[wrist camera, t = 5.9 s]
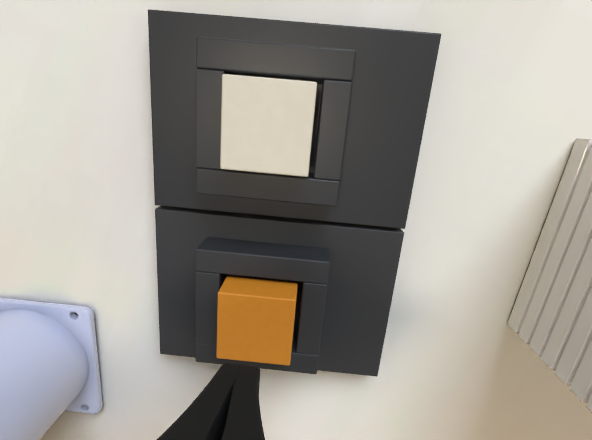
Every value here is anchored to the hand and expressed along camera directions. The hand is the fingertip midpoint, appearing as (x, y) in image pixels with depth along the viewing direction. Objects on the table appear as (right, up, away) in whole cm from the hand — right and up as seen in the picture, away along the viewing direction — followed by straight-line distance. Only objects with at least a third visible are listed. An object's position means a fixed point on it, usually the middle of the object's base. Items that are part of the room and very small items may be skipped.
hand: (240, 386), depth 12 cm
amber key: (0, +1, +5) cm, 5 cm away
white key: (+1, +10, +2) cm, 11 cm away
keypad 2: (+2, +11, +5) cm, 12 cm away
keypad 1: (+1, +2, +7) cm, 8 cm away
